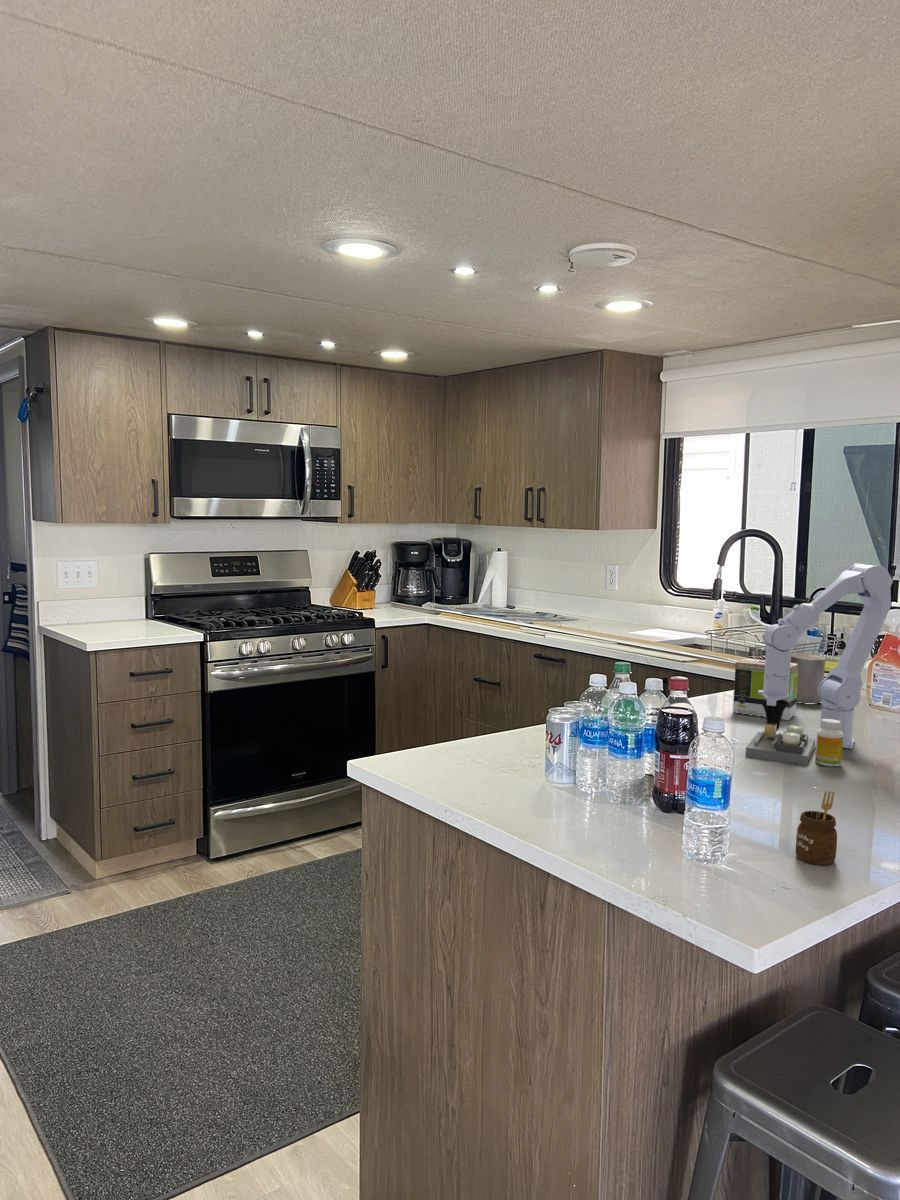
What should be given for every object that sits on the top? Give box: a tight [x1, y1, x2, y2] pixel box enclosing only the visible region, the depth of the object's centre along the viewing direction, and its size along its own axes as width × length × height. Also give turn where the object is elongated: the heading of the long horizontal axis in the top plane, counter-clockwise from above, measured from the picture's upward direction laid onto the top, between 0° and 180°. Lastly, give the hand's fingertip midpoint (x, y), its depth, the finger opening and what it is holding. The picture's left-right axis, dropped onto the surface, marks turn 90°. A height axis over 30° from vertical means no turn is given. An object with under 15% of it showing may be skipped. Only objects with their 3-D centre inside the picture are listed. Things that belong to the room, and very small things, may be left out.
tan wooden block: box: [763, 722, 777, 738], centre depth 211 cm, size 2×2×3 cm
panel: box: [745, 730, 816, 766], centre depth 207 cm, size 18×13×4 cm
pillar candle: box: [791, 651, 827, 704], centre depth 268 cm, size 10×10×15 cm
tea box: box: [732, 658, 798, 721], centre depth 248 cm, size 15×10×15 cm
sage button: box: [786, 725, 805, 738], centre depth 209 cm, size 4×4×2 cm
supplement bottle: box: [814, 719, 843, 767], centre depth 198 cm, size 5×5×10 cm
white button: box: [782, 731, 800, 746], centre depth 202 cm, size 4×4×2 cm
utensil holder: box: [795, 786, 838, 866], centre depth 141 cm, size 6×6×12 cm
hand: (773, 730), depth 216 cm, fingers closed
